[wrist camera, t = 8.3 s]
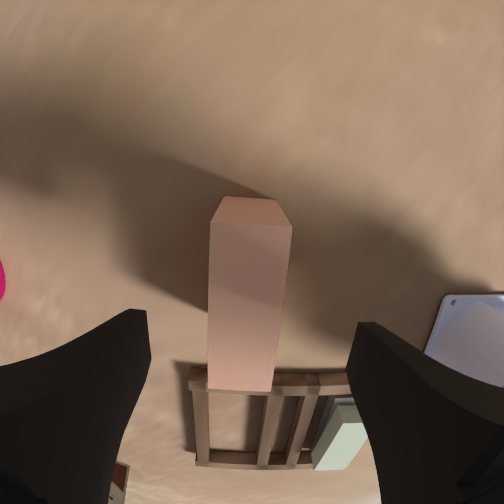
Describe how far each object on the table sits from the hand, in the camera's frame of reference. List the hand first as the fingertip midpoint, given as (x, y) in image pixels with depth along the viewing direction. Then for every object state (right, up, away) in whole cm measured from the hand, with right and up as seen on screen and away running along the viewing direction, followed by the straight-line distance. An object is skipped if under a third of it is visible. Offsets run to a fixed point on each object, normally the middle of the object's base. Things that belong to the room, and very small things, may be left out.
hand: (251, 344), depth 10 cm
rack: (+3, -12, +14) cm, 18 cm away
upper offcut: (+8, -12, +12) cm, 19 cm away
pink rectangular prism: (0, +2, +9) cm, 10 cm away
